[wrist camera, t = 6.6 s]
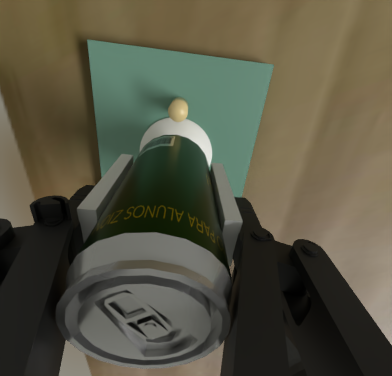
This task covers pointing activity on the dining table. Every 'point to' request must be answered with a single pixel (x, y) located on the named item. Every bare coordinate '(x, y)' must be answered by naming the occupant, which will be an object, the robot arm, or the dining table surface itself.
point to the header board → (177, 103)
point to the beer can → (152, 266)
